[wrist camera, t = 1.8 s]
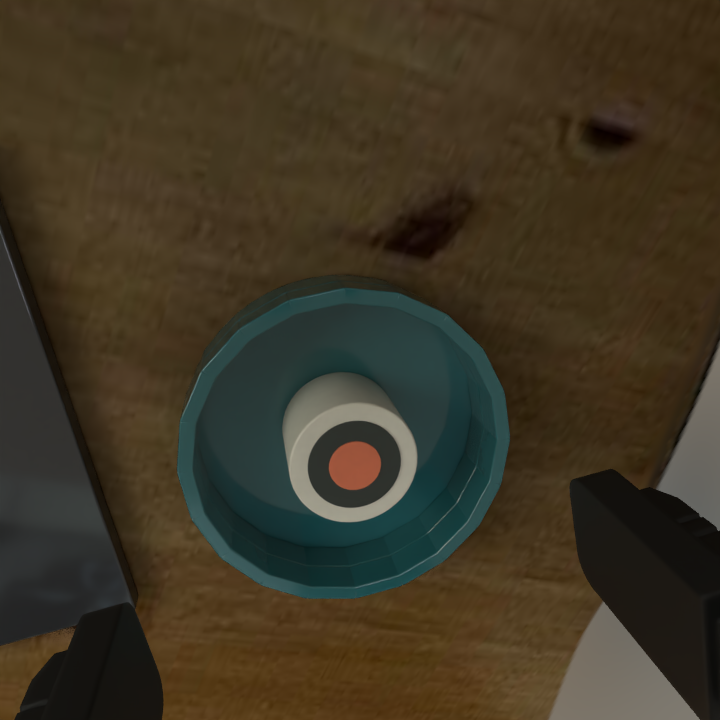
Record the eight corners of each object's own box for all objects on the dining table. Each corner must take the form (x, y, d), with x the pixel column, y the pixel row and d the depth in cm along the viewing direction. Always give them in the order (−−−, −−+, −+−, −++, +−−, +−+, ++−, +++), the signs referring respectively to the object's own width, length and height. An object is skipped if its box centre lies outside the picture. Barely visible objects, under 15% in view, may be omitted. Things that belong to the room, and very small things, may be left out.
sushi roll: (295, 489, 29) (304, 538, 25) (270, 386, 28) (276, 422, 24) (403, 462, 30) (427, 506, 26) (384, 359, 28) (407, 390, 24)
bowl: (227, 584, 30) (226, 635, 27) (147, 313, 26) (134, 333, 23) (495, 512, 32) (525, 552, 29) (458, 245, 28) (488, 255, 24)
